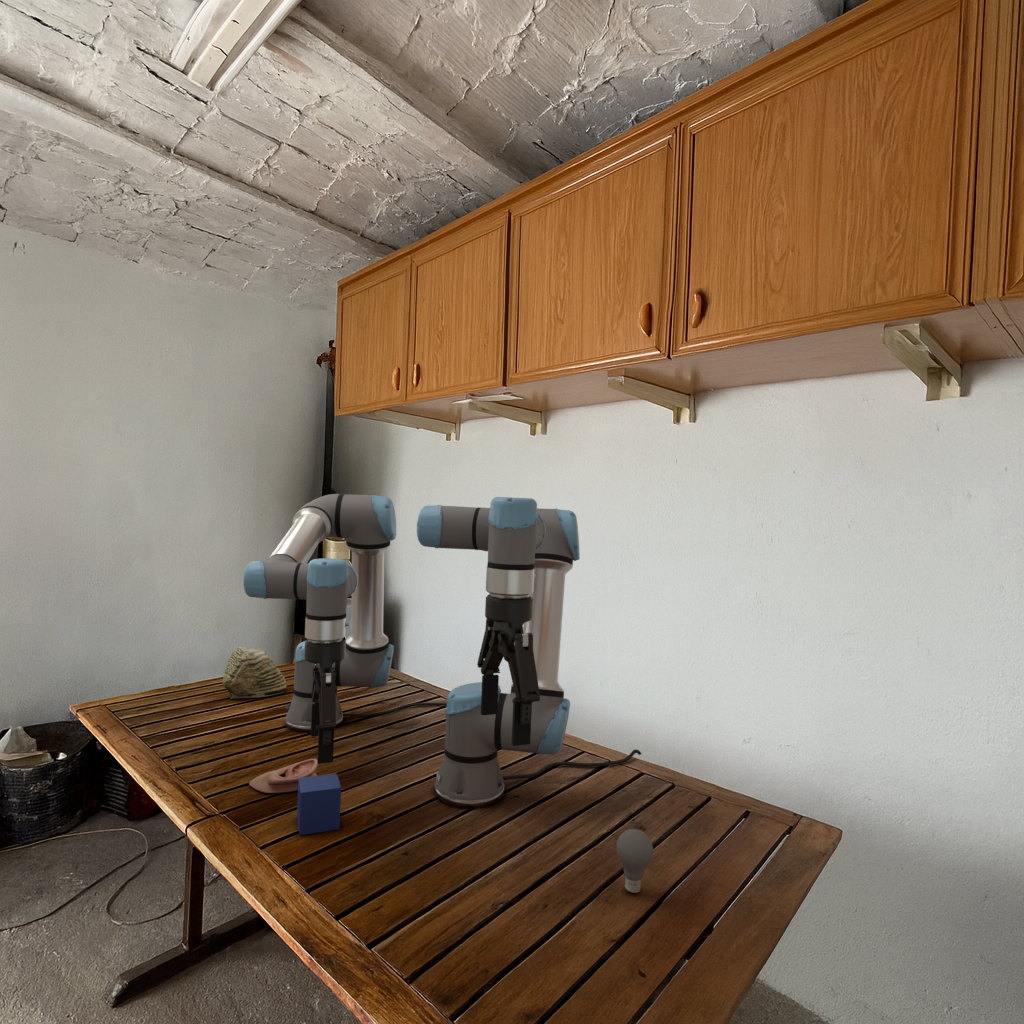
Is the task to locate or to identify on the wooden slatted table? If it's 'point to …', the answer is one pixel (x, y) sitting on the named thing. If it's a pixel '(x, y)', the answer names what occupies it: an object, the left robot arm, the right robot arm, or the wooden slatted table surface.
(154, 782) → the wooden slatted table surface
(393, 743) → the wooden slatted table surface
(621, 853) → the light bulb
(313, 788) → the block
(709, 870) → the wooden slatted table surface
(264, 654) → the fossil
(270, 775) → the anatomical model
